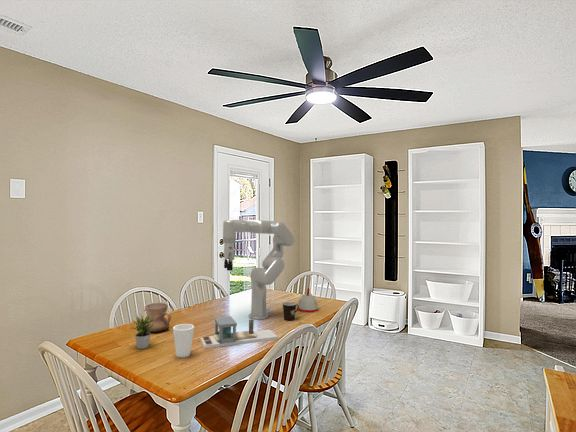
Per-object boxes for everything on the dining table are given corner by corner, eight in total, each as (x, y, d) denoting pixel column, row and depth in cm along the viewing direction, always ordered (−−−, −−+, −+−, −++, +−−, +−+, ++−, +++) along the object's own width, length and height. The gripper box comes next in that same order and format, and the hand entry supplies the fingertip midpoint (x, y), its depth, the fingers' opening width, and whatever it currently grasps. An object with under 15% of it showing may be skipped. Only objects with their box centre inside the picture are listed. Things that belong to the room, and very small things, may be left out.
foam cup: (177, 350, 169) (178, 323, 168) (196, 351, 168) (197, 324, 167) (169, 358, 159) (169, 329, 159) (188, 359, 158) (189, 330, 158)
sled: (252, 332, 191) (252, 317, 191) (256, 337, 184) (257, 321, 184) (213, 336, 183) (214, 321, 183) (216, 341, 175) (217, 326, 175)
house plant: (157, 352, 166) (158, 317, 166) (125, 354, 162) (126, 319, 162) (159, 341, 179) (160, 309, 179) (130, 343, 175) (131, 311, 175)
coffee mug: (284, 322, 216) (284, 305, 216) (280, 317, 224) (281, 302, 224) (302, 320, 219) (302, 305, 219) (298, 316, 228) (298, 301, 228)
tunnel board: (269, 331, 198) (270, 312, 197) (277, 339, 186) (278, 318, 186) (200, 339, 182) (200, 319, 182) (204, 348, 171) (205, 326, 171)
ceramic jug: (134, 331, 193) (134, 306, 192) (152, 323, 206) (153, 300, 206) (160, 337, 187) (161, 310, 186) (177, 328, 200) (178, 303, 200)
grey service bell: (318, 307, 251) (319, 287, 251) (316, 313, 237) (317, 291, 237) (299, 306, 253) (299, 286, 253) (296, 311, 240) (297, 290, 240)
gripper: (238, 241, 203) (237, 271, 203) (232, 239, 219) (231, 266, 219) (225, 241, 200) (224, 271, 200) (220, 239, 216) (219, 267, 216)
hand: (228, 269), depth 209 cm, fingers open, 9 cm apart
